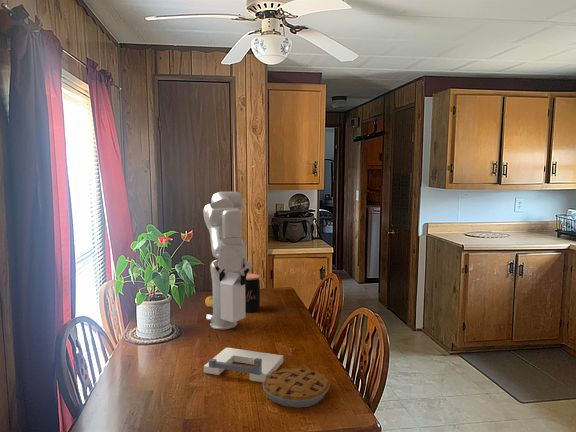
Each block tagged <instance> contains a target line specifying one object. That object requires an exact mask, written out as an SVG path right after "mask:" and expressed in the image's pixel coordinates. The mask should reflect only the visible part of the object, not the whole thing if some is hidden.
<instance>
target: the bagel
mask: <svg viewBox="0 0 576 432" xmlns="http://www.w3.org/2000/svg"><path fill="white" fill-rule="evenodd" d="M204 304H205V306H206V307H207V308H212V309H213V295H209V296H207V297H206V298H205V301H204Z"/></svg>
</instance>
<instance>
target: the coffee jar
mask: <svg viewBox="0 0 576 432" xmlns="http://www.w3.org/2000/svg"><path fill="white" fill-rule="evenodd" d="M260 281H261V280H260V275H259V274H257V273H248V275H247V276H246V283H245V313H256V312H258V311H259V309H260V307H261V295H260V294H261V291H260V290H261V286H260V285H261V282H260Z"/></svg>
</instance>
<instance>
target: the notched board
mask: <svg viewBox="0 0 576 432" xmlns="http://www.w3.org/2000/svg"><path fill="white" fill-rule="evenodd" d="M256 358H259V359H262V373H261V374H260V375H255V374H252V373H249V381H252V382H258V383H259V382H260V383H264V381H265V380H266V377H267V376H268V375H271V373H272V372H273V371H277V369H279V368H280V366H281V365H282V364H283V363H284V355H282V354H275V353H268V352H260V351H253V350H246V349H239V348H234V347H233V348H232V347H225V348H224V349H223V350H221V351H219V353H218V354H217V355H215V356H214V357H212V359H216V361H218V362H225V363H232V364H233V363H234V362H235V363H240V364H241V363H242V364H248V365H253V366H254V360H255V359H256ZM225 370H226V369H220V368H211V367H209V361H208V362H207V363H205V364H204V365H203V373H204V374H211V375H216V376H219V375H220V374H221V373H223V372H224V371H225Z"/></svg>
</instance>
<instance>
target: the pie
mask: <svg viewBox="0 0 576 432" xmlns="http://www.w3.org/2000/svg"><path fill="white" fill-rule="evenodd" d="M330 386H331V383H330V380H329V379H328V378H327V376H326V375H325V374H323V373H320V372H319V371H317V370H316V369H313V370H310V369H309V368H308V367H302V368H298V367H294V366H292V367H290V368H286V367H283V368H280V370H278V371H277V370H276V371H273V372H272V373H271V375H268V376H267V377H266V380H265V381H264V382H262V387H263V388H262V389H263V391H264V392H265V393H266V395H267V397H268V399H270V401H272V402H273V403H276V404H278V405H281V406H284V407H290V408H309V407H312V406H314V405H317V404H318V403H319V402H321V401H322V399H324V397H325V396H326V394H327V393H328V392H329V389H330Z"/></svg>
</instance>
